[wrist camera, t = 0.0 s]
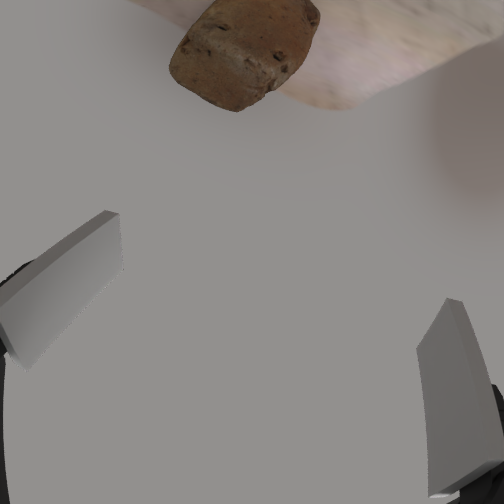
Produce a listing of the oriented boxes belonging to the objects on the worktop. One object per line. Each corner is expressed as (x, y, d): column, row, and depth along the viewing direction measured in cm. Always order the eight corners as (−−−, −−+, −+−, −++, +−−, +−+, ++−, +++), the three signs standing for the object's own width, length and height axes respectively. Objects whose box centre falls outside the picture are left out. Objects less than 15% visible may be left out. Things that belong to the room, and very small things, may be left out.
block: (230, 0, 31) (153, 79, 23) (260, -39, 24) (183, 17, 17) (298, 42, 35) (257, 138, 27) (333, 9, 29) (308, 93, 21)
